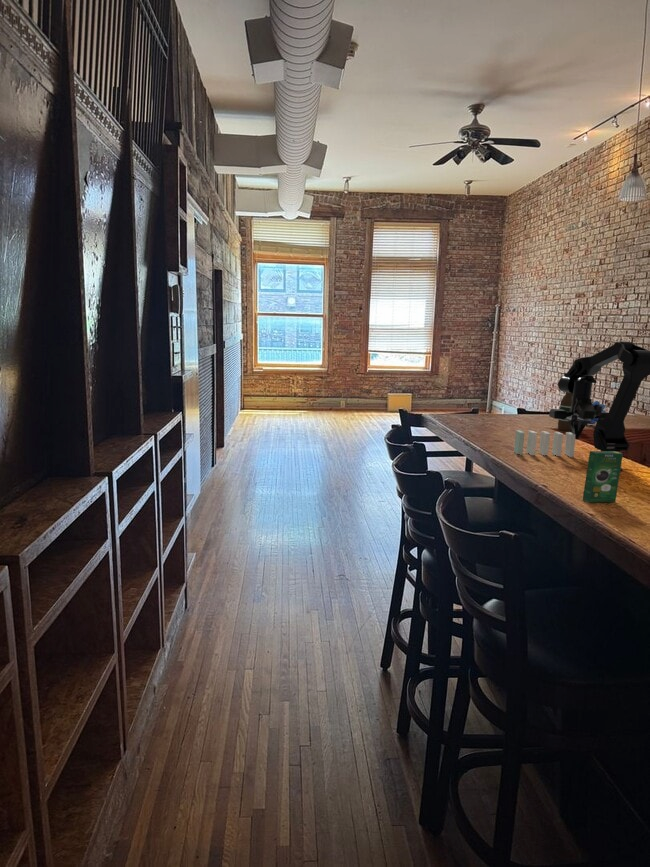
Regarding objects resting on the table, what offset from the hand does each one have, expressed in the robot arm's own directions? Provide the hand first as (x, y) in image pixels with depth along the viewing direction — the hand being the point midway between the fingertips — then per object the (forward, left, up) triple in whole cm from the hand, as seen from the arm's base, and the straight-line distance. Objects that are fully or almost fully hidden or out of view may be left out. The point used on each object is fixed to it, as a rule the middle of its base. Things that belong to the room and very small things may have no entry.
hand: (576, 439), depth 192 cm
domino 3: (0, +11, -6) cm, 12 cm away
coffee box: (-55, +15, -6) cm, 57 cm away
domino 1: (0, +20, -6) cm, 21 cm away
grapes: (+74, -36, -6) cm, 83 cm away
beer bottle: (+57, -18, -6) cm, 60 cm away
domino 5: (0, +2, -6) cm, 6 cm away
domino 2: (0, +15, -6) cm, 16 cm away
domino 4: (0, +6, -6) cm, 9 cm away
